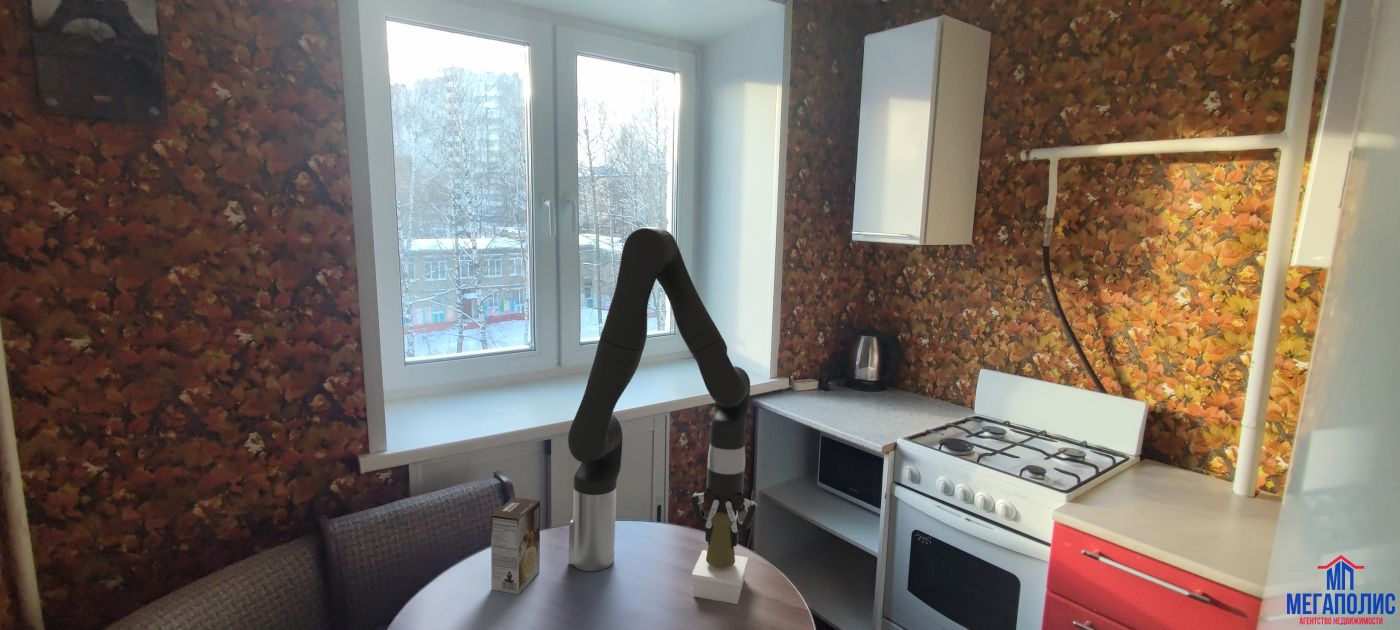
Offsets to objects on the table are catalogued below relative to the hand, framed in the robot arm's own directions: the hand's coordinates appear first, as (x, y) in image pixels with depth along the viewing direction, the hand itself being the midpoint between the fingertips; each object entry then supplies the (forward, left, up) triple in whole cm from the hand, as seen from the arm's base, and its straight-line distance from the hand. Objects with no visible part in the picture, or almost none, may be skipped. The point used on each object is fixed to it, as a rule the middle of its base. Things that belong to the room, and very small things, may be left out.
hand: (721, 544), depth 126 cm
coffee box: (-41, -10, -10) cm, 43 cm away
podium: (0, 0, -10) cm, 10 cm away
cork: (0, 0, -4) cm, 4 cm away
